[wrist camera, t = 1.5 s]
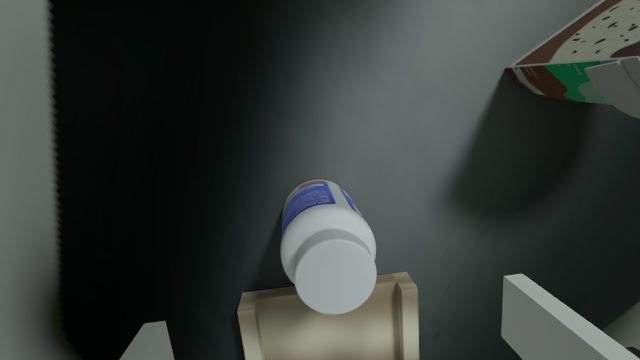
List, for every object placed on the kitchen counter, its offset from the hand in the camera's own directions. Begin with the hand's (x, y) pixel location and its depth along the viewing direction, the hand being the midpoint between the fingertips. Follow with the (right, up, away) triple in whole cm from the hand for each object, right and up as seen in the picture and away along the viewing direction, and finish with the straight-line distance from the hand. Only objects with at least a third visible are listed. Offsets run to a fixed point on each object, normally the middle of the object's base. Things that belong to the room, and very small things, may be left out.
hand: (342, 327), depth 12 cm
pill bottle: (-1, +3, +12) cm, 13 cm away
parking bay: (0, -9, +15) cm, 18 cm away
